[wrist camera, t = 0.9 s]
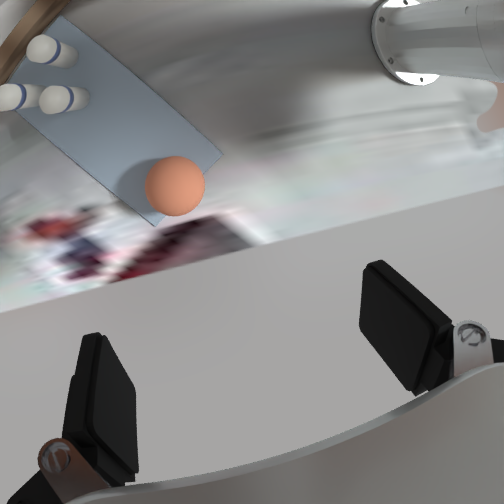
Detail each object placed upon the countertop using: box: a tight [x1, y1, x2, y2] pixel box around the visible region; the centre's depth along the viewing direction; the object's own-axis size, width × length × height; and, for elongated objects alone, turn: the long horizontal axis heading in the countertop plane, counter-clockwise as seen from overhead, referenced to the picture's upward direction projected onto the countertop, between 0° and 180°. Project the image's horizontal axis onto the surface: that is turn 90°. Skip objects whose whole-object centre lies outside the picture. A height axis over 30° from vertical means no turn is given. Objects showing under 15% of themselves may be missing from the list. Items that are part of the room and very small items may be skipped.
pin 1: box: [0, 83, 47, 112], centre depth 22 cm, size 2×2×8 cm
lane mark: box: [8, 15, 223, 227], centre depth 28 cm, size 11×25×1 cm, turn 44°
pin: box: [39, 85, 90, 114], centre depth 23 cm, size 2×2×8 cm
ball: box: [145, 156, 205, 216], centre depth 31 cm, size 6×6×6 cm
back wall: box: [0, 0, 70, 86], centre depth 20 cm, size 16×2×3 cm, turn 134°
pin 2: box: [26, 35, 79, 69], centre depth 21 cm, size 2×2×8 cm
